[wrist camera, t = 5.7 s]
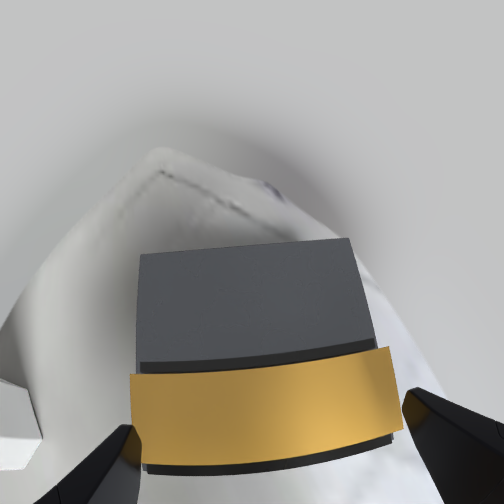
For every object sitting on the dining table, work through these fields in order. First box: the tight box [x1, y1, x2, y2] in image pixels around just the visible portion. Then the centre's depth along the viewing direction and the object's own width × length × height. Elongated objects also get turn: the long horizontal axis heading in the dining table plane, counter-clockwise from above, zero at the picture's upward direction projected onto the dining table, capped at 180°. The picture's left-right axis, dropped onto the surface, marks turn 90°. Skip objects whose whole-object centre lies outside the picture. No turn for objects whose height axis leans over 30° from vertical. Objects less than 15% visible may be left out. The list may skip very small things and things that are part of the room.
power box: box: [136, 238, 394, 476], centre depth 17 cm, size 13×12×8 cm
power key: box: [130, 346, 404, 465], centre depth 11 cm, size 4×11×2 cm, turn 96°
